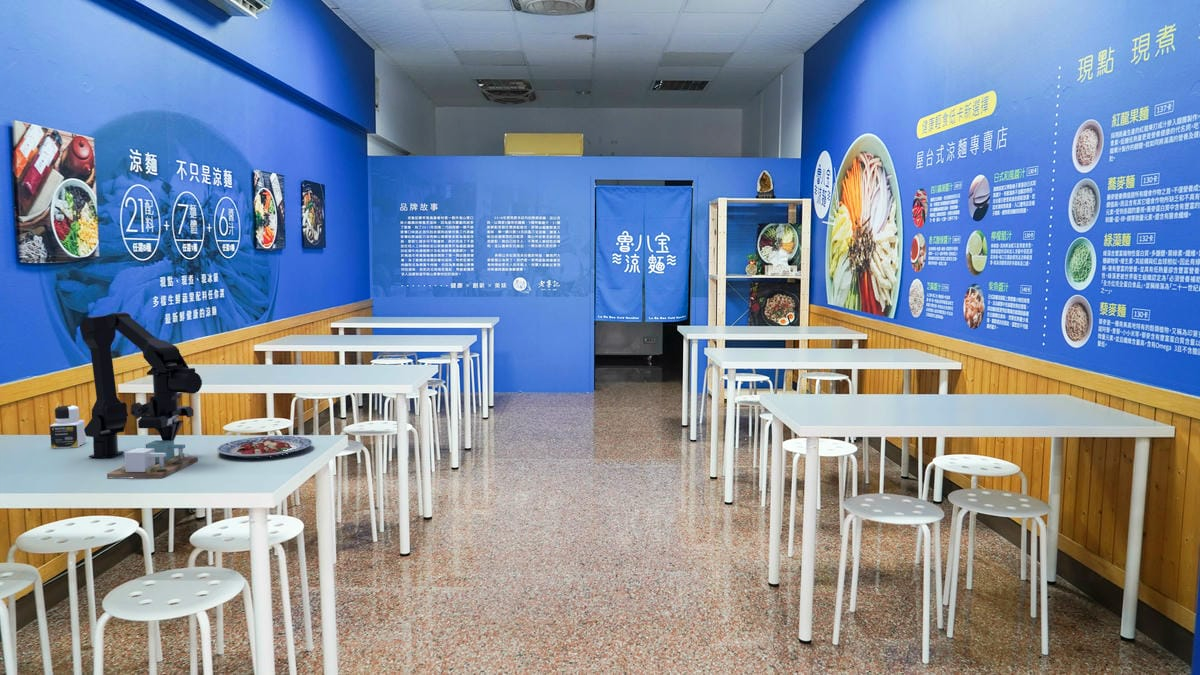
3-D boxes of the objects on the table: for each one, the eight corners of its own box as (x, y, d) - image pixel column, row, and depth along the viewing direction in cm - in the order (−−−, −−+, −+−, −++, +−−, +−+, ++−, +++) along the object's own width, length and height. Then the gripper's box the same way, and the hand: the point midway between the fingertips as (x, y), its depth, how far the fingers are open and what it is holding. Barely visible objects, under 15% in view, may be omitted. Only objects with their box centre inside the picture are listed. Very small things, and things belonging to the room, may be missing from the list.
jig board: (147, 460, 236) (147, 452, 236) (197, 460, 236) (197, 453, 236) (107, 478, 217) (106, 469, 217) (161, 478, 217) (161, 469, 217)
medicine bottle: (50, 449, 251) (48, 408, 250) (60, 443, 258) (57, 404, 257) (77, 447, 253) (75, 407, 252) (86, 442, 260) (84, 403, 258)
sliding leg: (156, 458, 232) (155, 440, 232) (189, 458, 232) (188, 440, 232) (146, 462, 227) (145, 444, 227) (180, 462, 227) (179, 444, 227)
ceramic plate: (201, 453, 246) (200, 443, 246) (284, 439, 266) (283, 429, 265) (243, 467, 229) (243, 456, 229) (329, 451, 249) (329, 441, 249)
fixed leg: (136, 467, 222) (135, 448, 222) (170, 467, 222) (169, 448, 222) (125, 472, 217) (124, 452, 217) (160, 472, 217) (159, 452, 217)
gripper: (153, 386, 241) (156, 440, 243) (116, 397, 223) (119, 455, 224) (193, 386, 241) (195, 440, 243) (159, 397, 223) (161, 455, 224)
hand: (168, 448), depth 233 cm, fingers closed
